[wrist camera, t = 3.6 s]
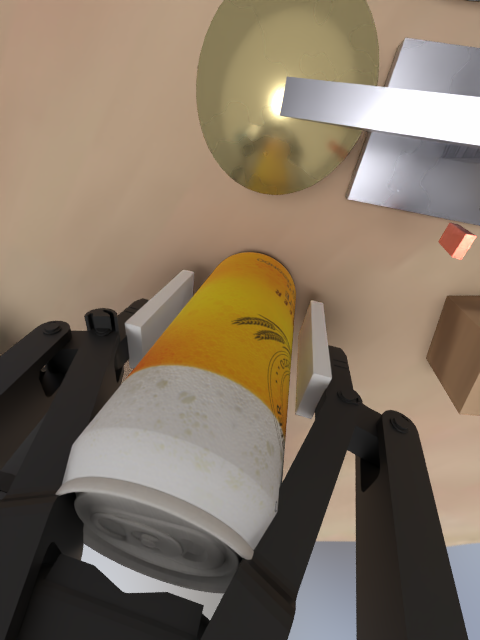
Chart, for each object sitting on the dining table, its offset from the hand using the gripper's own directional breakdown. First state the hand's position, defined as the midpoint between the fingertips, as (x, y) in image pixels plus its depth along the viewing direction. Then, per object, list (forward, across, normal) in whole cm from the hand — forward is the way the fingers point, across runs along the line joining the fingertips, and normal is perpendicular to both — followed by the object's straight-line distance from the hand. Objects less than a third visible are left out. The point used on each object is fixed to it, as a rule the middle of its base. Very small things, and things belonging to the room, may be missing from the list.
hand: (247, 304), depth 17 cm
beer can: (+2, 0, 0) cm, 2 cm away
